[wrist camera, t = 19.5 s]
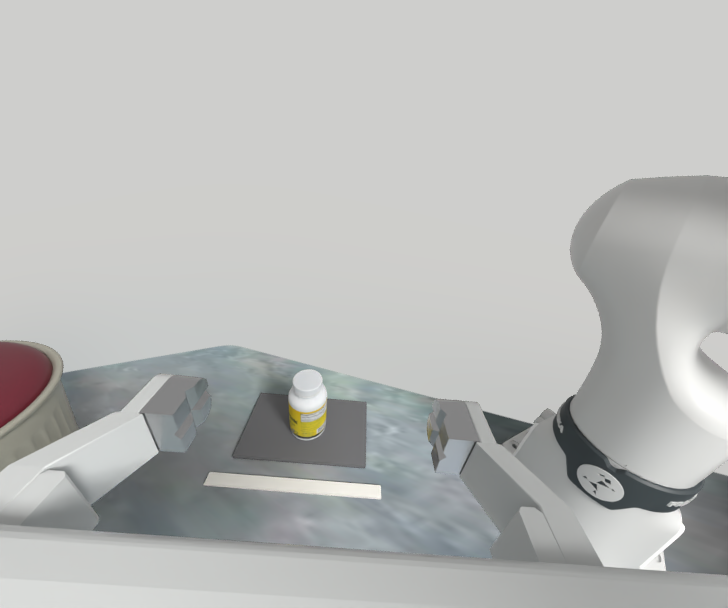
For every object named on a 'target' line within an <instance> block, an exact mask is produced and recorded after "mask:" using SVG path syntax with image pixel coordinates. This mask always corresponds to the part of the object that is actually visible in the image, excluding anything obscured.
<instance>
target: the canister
mask: <svg viewBox="0 0 728 608" xmlns="http://www.w3.org/2000/svg"><path fill="white" fill-rule="evenodd" d="M62 373H63V361H62V358H61V357H60V355H59V354H58V353H57V352H56V351H55V350H54V349H52V348H50V347H48V346H46V345H42V344H39V343H34V342H27V341H0V472H1V471H2V470H3V469H5V468H6V467H7V466H8V465H10V464H12V463H14V462H16V461H18V460H20V459H22V458H24V457H26V456H28V455H30V454H32V453H34V452H36V451H38V450H40V449H42V448H44V447H46V446H48V445H50V444H52V443H54V442H56V441H57V440H59V439H61V438H63V437H65V436H67V435H69V434H71V433H73V432H75V431H77V430H79V429H78V426H77V423H76V420H75V417H74V415H73V412H72V409H71V407H70V404H69V401H68V399H67V396H66V393H65V390H64V387H63V385H62V382H61V376H62Z"/></svg>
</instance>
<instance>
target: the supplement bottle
mask: <svg viewBox="0 0 728 608" xmlns="http://www.w3.org/2000/svg"><path fill="white" fill-rule="evenodd" d="M288 403H289V418H290V429H291V432H292V434H293V435H294V436H295V437H296V438H298V439H300V440H305V441H307V440H313V439H315V438H317V437H319V436H320V435H321V434H322V433H323V431H324V429H325V426H326V411H327V391H326V388H325V386H324V385H323V384H322V376H321V374H320V373H319V372H317V371H315V370H310V369H307V370H302V371H300V372H298V373H297V374H296V375H295V376H294V378H293V386H292V388H291V389H290V391H289V395H288Z"/></svg>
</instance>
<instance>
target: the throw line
mask: <svg viewBox="0 0 728 608" xmlns="http://www.w3.org/2000/svg"><path fill="white" fill-rule="evenodd" d="M203 485H204V486H214V487H227V488H240V489H253V490H266V491H279V492H292V493H305V494H318V495H331V496H344V497H357V498H370V499H381V485H370V484H357V483H344V482H332V481H319V480H306V479H294V478H281V477H268V476H255V475H243V474H230V473H217V472H209V474H208V476H207V478H206V480H205V482H204V484H203Z"/></svg>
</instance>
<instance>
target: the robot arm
mask: <svg viewBox="0 0 728 608" xmlns="http://www.w3.org/2000/svg"><path fill="white" fill-rule="evenodd" d="M570 255H571V261H572V265H573V267H574V270H575V272H576V274H577V275H578V277H579V278H580V279H581V281H582V282H583V283H584V284H585V286H586V287H587V289H588V290H589V292H590V293H591V295H592V297H593V299H594V301H595V303H596V306H597V309H598V312H599V316H600V320H601V327H602V339H601V345H600V349H599V353H598V355H597V358H596V360H595V362H594V364H593V366H592V368H591V370H590V372H589V374H588V376H587V377H586V379H585V381H584V383H583V384H582V386H581V388H580V389H579V391H578V392H577V394H576V395H573V396H571V397H569V398H568V399H567V400H566V402H565V403H563V404H562V405H561V407H560V408H559V410H558V412H557V414H555V413H554V412H553V411H552V410H550V409H548V408H547V409H546V410H544V411H543V412H542V414H541V415H540V416H539V417H538V418H537V419H536V420H535V421H534V425H533V426H531V427H530V428H528V429H526V430H524V431H523V432H521V433H519V434H517V435H516V436H514V437H512V438H510V439H509V440H507V441H505V442H504V443H503V444H502V445H501V444H497V443H496V441H495V438H494V436H493V434H492V432H491V429H490V427H489V425H488V423H487V420H486V418H485V416H484V414H483V411H482V409H481V407H480V405H479V404H478V403H477V402H469V401H459V400H446V399H445V400H444V399H435V400H434V402H433V404H432V408H433V412H432V413H430V414H429V417H428V420H427V435H428V440H429V442H430V443H431V445H432V446H433V450H432V452H431V455H432V460H433V465H434V470H435V473H443V474H452V475H460V478H461V479H462V481H463V482H464V483H465V485H466V486H467V488H468V489H469V490H470V492H471V493H472V494H473V496H474V497H475V498H476V500H477V501H478V503H479V504H480V505H481V507H482V508H483V509H484V511H485V512H486V514H487V515H488V516H489V518H490V519H491V520H492V522H493V523H494V524H495V526H496V527H497V529H498V530H499V531H500V533H501V534H500V535H499V537H498V538H497V539H496V541H495V542H494V543H493V545H492V546H491V548H490V552H491V555H492V559H488V558H474V557H460V556H446V555H432V554H417V553H403V552H389V551H375V550H361V549H347V548H332V547H318V546H304V545H290V544H276V543H262V542H247V541H233V540H219V539H205V538H190V537H176V536H162V535H148V534H133V533H119V532H105V531H93V530H94V528H95V527H96V525H97V524H98V523H99V516H98V515H97V513H96V512H95V511H94V509H93V508H92V507H91V505H92V504H93V503H94V502H96V501H97V500H98V499H100V498H101V497H102V496H103V495H105V494H106V493H107V492H109V491H110V490H111V489H113V488H114V487H115V486H116V485H118V484H119V483H120V482H122V481H123V480H124V479H125V478H127V477H128V476H129V475H131V474H132V473H133V472H134V471H136V470H137V469H138V468H140V467H141V466H142V465H143V464H145V463H146V462H147V461H149V460H150V459H151V458H152V457H154V456H155V455H156V454H158V453H159V451H167V452H186V451H187V449H188V448H189V446H190V445H191V443H192V441H193V440H194V438H195V436H196V435H197V431H196V427H198V426H199V425H201V424H202V423H204V422H205V420H206V418H207V417H208V415H209V412H210V409H211V395H210V394H209V393H208V392H207V391H206V388H207V387H208V383H207V380H206V379H204V378H198V377H189V376H181V375H170V374H161V373H160V374H158V375H156V376H154V377H153V378H152V379H151V380H150V381H149V382H148V383H147V384H146V385H145V386H144V387H143V388H142V390H141V391H140V392H139V393H138V394H137V395H136V396H135V397H134V398H133V399H132V400H131V401H130V402H129V403H128V404H127V405H126V406H125V407H124V408H123V409H122V410H121V411H120V412H113V413H111V414H109V415H107V416H105V417H103V418H101V419H99V420H97V421H95V422H93V423H91V424H89V425H87V426H85V427H83V428H81V429H79V430H77V431H75V432H73V433H71V434H69V435H67V436H65V437H63V438H61V439H59V440H57V441H56V442H54V443H52V444H50V445H48V446H46V447H44V448H42V449H40V450H38V451H36V452H34V453H32V454H30V455H28V456H26V457H24V458H22V459H20V460H18V461H16V462H14V463H12V464H10V465H8V466H7V467H6V468H5V469H3V470H2V471H1V472H0V608H728V575H715V574H700V573H686V572H672V571H666V568H665V561H664V553H663V550H664V549H665V548H667V547H668V546H669V545H670V544H671V543H672V542H673V541H675V540H676V539H677V538H678V537H679V536H680V535H681V534H682V533H683V532H684V530H685V527H684V525H683V524H682V516H681V512H680V509H679V508H680V507H681V506H683V505H686V504H688V503H689V502H691V501H692V500H693V499H694V498H695V497H696V496H697V493H698V492H699V491H700V490H701V489H702V488H703V486H704V483H705V481H704V478H706V477H707V476H708V475H710V474H711V473H712V472H713V471H715V470H716V469H717V468H719V467H720V466H721V465H722V464H724V463H725V462H726V461H728V373H727V372H726V371H725V370H724V369H722V368H721V367H720V366H719V365H718V364H716V363H715V362H714V361H713V360H711V359H710V358H709V357H708V356H707V355H706V354H705V353H704V352H703V351H702V350H701V349H700V345H701V343H702V341H703V340H704V339H705V338H706V337H707V336H708V335H709V334H710V333H713V332H721V333H726V334H728V177H718V176H708V175H704V176H676V177H658V178H642V179H631V180H628V181H626V182H624V183H622V184H620V185H618V186H616V187H615V188H613V189H611V190H610V191H608V192H607V193H605V194H604V195H602V196H601V197H600V198H599V199H598V200H596V201H595V202H594V203H593V204H592V205H591V206H590V207H589V208H588V209H587V211H586V212H585V213H584V214H583V216H582V217H581V219H580V220H579V222H578V224H577V225H576V227H575V230H574V233H573V235H572V239H571V245H570ZM513 447H514V448H513Z"/></svg>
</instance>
